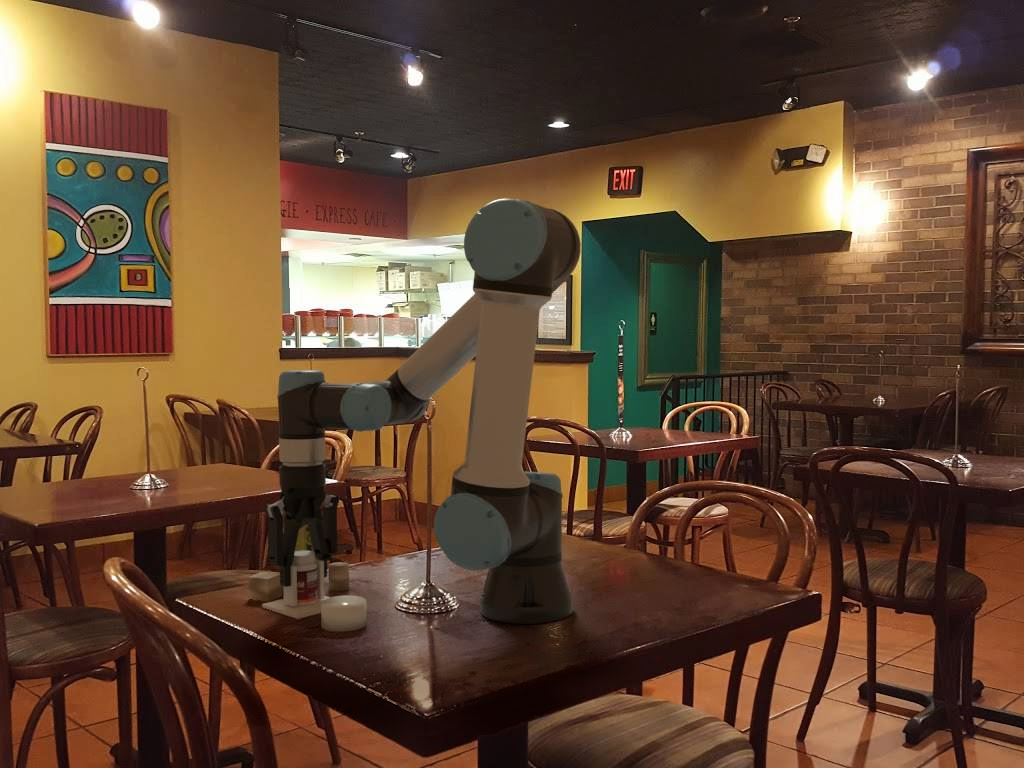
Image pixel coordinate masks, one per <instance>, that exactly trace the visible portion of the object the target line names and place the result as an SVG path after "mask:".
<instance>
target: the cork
mask: <svg viewBox="0 0 1024 768" xmlns="http://www.w3.org/2000/svg"><path fill="white" fill-rule="evenodd" d="M327 569H328V591H331V592H335V593H336V592H346V591H348V590H349V589H350V564H349V563H348V562H343V561H342V562H341V561H340V562H339V561H338V562H337V561H336V562H332V563H329V564H327Z"/></svg>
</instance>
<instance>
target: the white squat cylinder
mask: <svg viewBox="0 0 1024 768" xmlns="http://www.w3.org/2000/svg"><path fill="white" fill-rule="evenodd" d="M367 605H368V604H367V599H366V598H364V597H363V596H359V595H358V596H357V595H350V594H348V595H347V594H345V595H336V596H331V598H328V599H325V600H324V601H322V603H321V613H320V615H321V616H320V618H321V622H320V623H321V628H322V629H323V630H325V631H329V632H338V633H339V632H352V631H357V630H360V629H363V628H365V627H366V626H367V623H368V622H367V621H368V619H367V617H368V616H367V615H368V613H367V611H368V609H367V608H368V607H367Z"/></svg>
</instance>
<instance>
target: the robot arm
mask: <svg viewBox="0 0 1024 768" xmlns="http://www.w3.org/2000/svg"><path fill="white" fill-rule="evenodd" d="M581 245H582V243H581V238H580V234H579V232H578V230H577V228H576V225H575V224H574V223H573V221H572V220H571V219H570V218H568V217H567V215H565V214H564V213H562V212H560V211H558V210H556V209H553V208H547V207H544V206H542V205H539V204H536V203H534V202H531V201H529V200H525V199H519V198H518V199H515V198H500V199H496V200H493V201H490V202H488V203H487V204H485V205H483V207H481V208H480V209H479V210H478V211H477V212H475V214H474V215H473V217H472V218H471V220H470V221H469V223H468V226H467V227H466V230H465V234H464V238H463V250H464V255H465V259H466V261H467V262H468V263H469V265H470V268H471V269H472V270H473V271H474V272H473V274H474V275H473V281H472V282H473V285H472V291H473V292H474V294H473V295H472V296H471V297H469V299H468V300H467V301H466V302H465V303H463V305H461V307H459V308H458V309H457V310H456V312H455V313H453V314H452V316H450V318H448V319H447V320H446V321H445V322H444V323H443V324H442V325H441V326H440V327H439V328H438V329H437V330H436V331H435V332H434V333H433V334H432V335H431V336H430V337H429V338H428V339H427V340H426V341H425V342H424V343H422V345H421V346H419V348H417V349H416V350H415V351H414V353H412V354H411V355H410V356H409V357H408V358H407V359H406V360H405V361H404V362H403V363H402V364H401V365H400V366H399V367H398V368H397V369H396V370H395V371H394V372H393V373H392V374H391V375H390V376H389V377H388V378H386V379H385V380H383V381H382V380H381V381H380V380H379V381H369V382H368V381H367V382H365V381H364V382H349V383H348V382H347V383H346V382H344V383H343V382H340V383H338V382H336V383H335V382H334V383H333V382H332V383H331V382H326V380H325V373H324V372H323V371H322V370H316V369H315V370H313V369H303V370H302V369H297V370H296V369H295V370H285V371H283V372H281V373H280V374H279V376H278V388H277V389H278V391H277V395H276V397H277V407H278V428H279V429H278V431H279V433H278V445H279V446H278V449H279V450H278V453H279V457H278V458H279V462H280V463H282V464H280V466H279V469H278V470H279V471H278V472H279V474H278V476H279V479H278V481H279V487H280V491H281V492H280V494H279V497H278V500H277V501H276V502H273V503H272V504H268V503H267V504H265V506H264V511H265V514H266V517H267V532H268V533H267V538H268V539H267V541H268V542H267V544H268V546H267V548H268V549H267V554H268V555H267V556H268V558H267V559H268V560H267V561H268V563H269V564H272V565H274V566H275V565H276V566H278V567H279V573H280V584H281V586H282V587H283V599H284V604H286V605H290V606H293V607H294V606H297V567H296V566H292V564H293V559H294V553H295V548H296V543H297V537H298V532H299V527H300V526H301V525H302V521H303V519H305V521H306V522H307V525H308V529H309V533H310V538H311V542H312V547H313V551H314V552H315V557H316V559H315V561H314V563H316V564H317V587H318V588H317V591H318V599H320V600H322V599H324V596H325V578H327V577H328V561H331V559H332V555H335V554H337V552H338V523H337V522H338V519H337V518H338V517H337V516H338V515H337V514H338V513H337V511H338V506H339V503H340V496H338V495H331V494H327V493H326V490H325V487H324V486H326V485H325V484H326V482H327V481H326V480H327V479H326V476H327V475H326V465H325V463H323V462H324V461H325V460H326V430H328V429H333V430H349V431H356V432H369V431H371V432H372V431H378V430H381V429H382V428H383V427H384V426H391V425H396V424H397V425H398V424H400V425H401V424H402V425H403V424H407V423H410V422H413V421H416V420H418V419H419V418H422V416H423V415H424V414H425V412H426V410H427V408H428V406H429V405H428V404H429V400H431V398H432V397H433V396H434V395H435V394H437V392H439V390H441V389H442V388H443V387H444V386H445V385H446V384H447V383H448V382H449V381H450V380H451V379H452V378H454V377H455V376H456V375H458V373H459V372H460V371H461V370H463V369H464V368H465V366H466V365H468V364H469V363H471V361H472V360H473V359H474V358H475V360H474V361H475V364H474V370H473V371H474V372H473V380H472V389H471V397H470V407H469V408H470V409H469V418H468V423H467V425H468V427H467V435H466V443H465V444H466V445H465V451H464V452H465V455H464V462H463V463H462V464H461V465H459V467H457V468H456V469H455V470H454V471H453V473H452V478H451V479H452V481H451V488H450V495H449V496H447V498H446V499H445V500H444V501H442V503H441V504H440V505H439V506H438V509H436V513H435V516H434V521H433V529H434V530H433V531H434V536H435V539H436V542H437V544H438V546H439V548H440V550H442V551H443V553H444V554H445V557H446V558H447V559H448V560H449V561H450V562H452V563H453V564H454V565H456V566H457V567H459V568H462V569H463V570H467V571H472V572H473V571H475V572H478V571H484V570H486V569H488V573H487V575H486V579H485V583H484V587H483V591H482V593H480V594H481V595H480V598H479V602H480V604H479V607H480V608H479V609H480V610H479V611H480V614H481V615H482V616H484V617H485V618H487V619H489V620H493V621H496V622H501V623H506V624H507V623H508V624H521V625H522V624H523V625H526V624H527V625H528V624H529V625H531V624H532V625H533V624H543V623H545V624H546V623H551V622H557V621H559V620H563V619H566V618H568V617H569V616H571V615H572V613H573V611H574V608H573V607H574V606H573V604H574V603H573V596H572V593H571V592H570V588H569V584H568V580H567V578H566V574H565V571H564V568H563V564H562V563H563V561H562V560H563V559H562V557H563V556H562V555H563V554H562V551H563V550H562V549H563V544H562V543H563V538H562V537H563V536H562V535H563V531H562V530H563V529H562V527H563V523H562V522H563V510H562V508H563V496H564V494H563V492H562V481H561V478H560V477H559V476H558V474H556V473H551V472H543V471H542V472H539V471H523V468H522V467H523V466H522V465H523V458H524V457H523V456H524V449H525V448H524V447H525V439H526V431H527V422H528V413H529V408H530V407H529V405H530V399H531V398H530V397H531V396H530V395H531V390H532V389H531V388H532V380H533V372H534V363H535V354H536V345H537V336H538V329H539V321H540V311H541V309H542V308H543V306H544V305H546V304H547V303H548V302H550V301H551V300H552V297H553V296H552V295H553V293H554V292H555V291H557V290H558V289H559V287H560V286H562V284H564V283H565V282H566V281H567V279H569V278H570V276H571V275H572V273H573V272H574V271H575V269H576V267H577V266H578V263H579V260H580V256H581V253H582V252H581V249H582V248H581ZM321 507H322V511H321ZM284 510H285V517H284V523H285V527H284V532H283V512H284ZM292 519H295V520H292Z"/></svg>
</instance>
